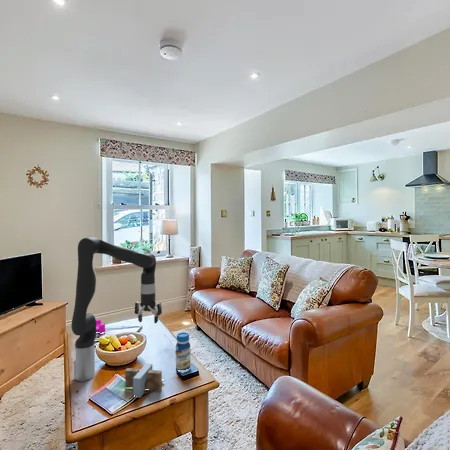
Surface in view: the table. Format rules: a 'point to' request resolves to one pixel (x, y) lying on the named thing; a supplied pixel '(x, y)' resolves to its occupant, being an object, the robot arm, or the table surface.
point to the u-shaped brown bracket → (152, 383)
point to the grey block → (141, 380)
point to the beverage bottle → (183, 352)
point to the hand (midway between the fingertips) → (148, 322)
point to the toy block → (100, 326)
